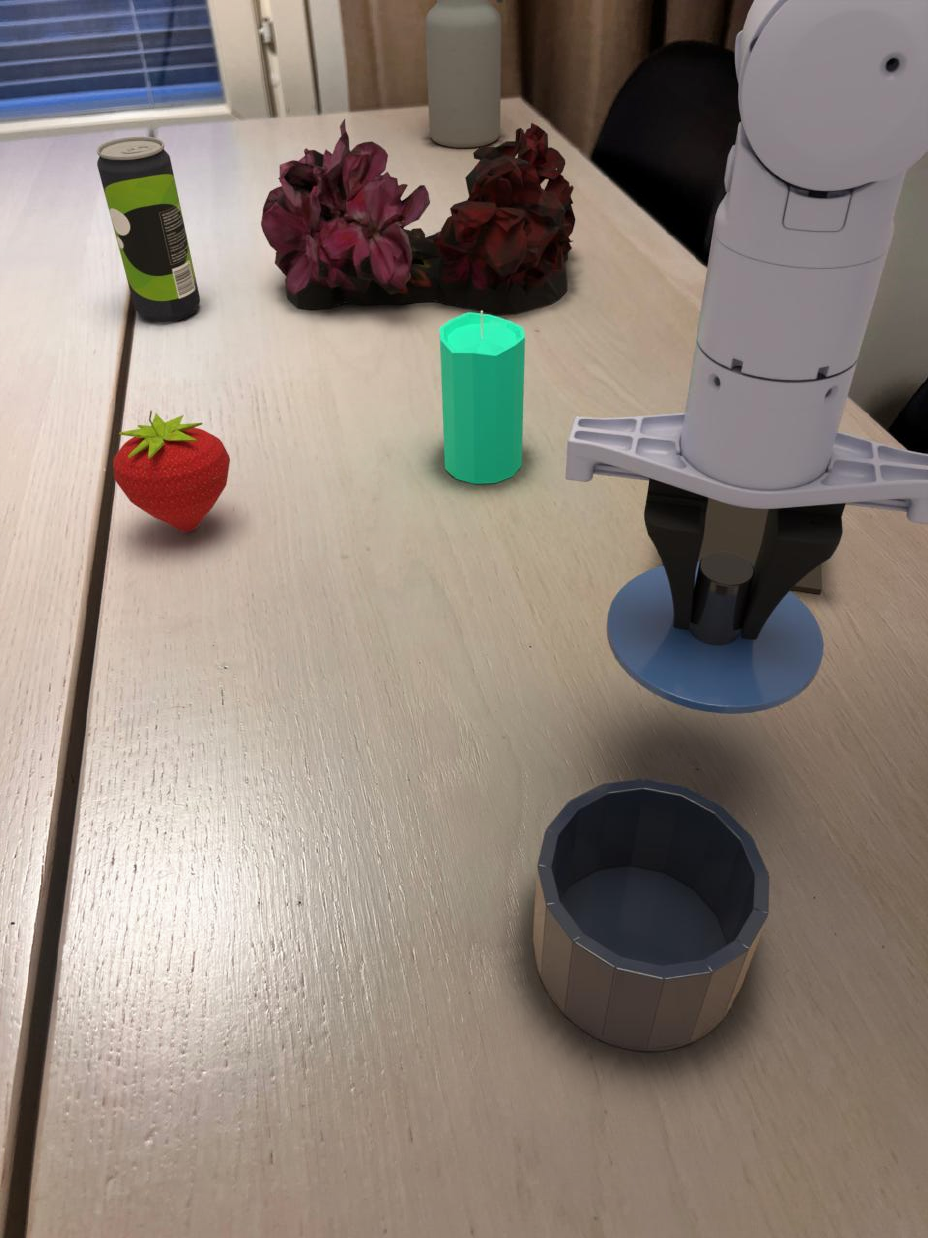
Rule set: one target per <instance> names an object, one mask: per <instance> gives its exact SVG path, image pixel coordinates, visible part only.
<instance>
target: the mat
mask: <svg viewBox="0 0 928 1238" xmlns="http://www.w3.org/2000/svg"><path fill="white" fill-rule="evenodd" d="M767 514H768V509H755V508H746V507H740V506H735V505H730V504H727V503H723V502H720V501H717V500H714V499H711V498H708V505H707V511H706V519H705V529H704V538H703V542H702V546H701V550H700V555H699V559H698V562H700V561H701V559H702V558H703V557H704V556H706V555H708V554H710V553H713V552H720V551H725V552H732V553H736V554H738V555H741V556H743V557H744V558H746V559H747V560H749V561H750V562H751V564H752V565H753V567H754V565H755V562H756V559H757V556H758V553H759V550H760V546H761V542H762V538H763V533H764V528H765V523H766V519H767ZM662 566H664V565H663V564H662ZM822 581H823V580H822V564H820V565H819V566H817V567H816V568H815V569H814V570H812V571H811V572H810V573H808V574H807V575H806V576H805V577H804V578H802V579H801V580H800V581H799V582H798V583H797V584H796V585H795V586H794V587H793V588H792V589H791V590H790V591H796V592H797V591H798V592H804V593H811V594H818V595H820V594H822V590H823V585H822V584H823V583H822Z"/></svg>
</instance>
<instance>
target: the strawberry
mask: <svg viewBox="0 0 928 1238" xmlns="http://www.w3.org/2000/svg"><path fill="white" fill-rule="evenodd" d="M152 413H153V410H150V411H149V416H148V422H149V424H150V425H146V424H138V425H137V428H135V429H131V430H130V429H129V430H124V431H120V432H118V435H119V436H125V437H131V438H130V439H128V440H127V441H126V442H124V443H123V444H122V446H121V447H120V449H119V450H117V452H116V453H115V455H114V457H113V460H112V464H113V465H112V466H113V477H114V481H115V482H116V484H117V486H118V487H119V488H120V489H121V491H122V492H123V494H124V495H125V496H126V498H127V500H128V501H129V502H130V503H132V504H133V505H134V506H136V507H137V508H138V509H140V510H142V511H143V512H145V513H146V514H148V515H150V516H151V517H153V519H157V520H158V521H160V522H163V523H164V524H165V523H166V524H168V525H169V526H171V527H173V528H174V529H175V530H177V531H180V532H184V533H185V532H186V533H187V532H192V531H194V530H196V529H198V527H199V526H200V525H201V522H202V521H203V519H204V518H205V517H206V516H207V515H208V513H210V511H211V510H212V509H213V508H214V506H215V504H216V503H217V501H218V500H219V498H220V497H221V495H222V493H223V492H224V490H225V488H226V487H227V484H228V478H229V471H230V462H231V458H230V455H229V452H228V451H227V449H226V447H225V445H224V443H223V442H222V440H221V439H220V438H219V437H217V436H216V435H214V434H212V433H210V432H208V431H206V430H204V429H203V428H199V427H200V426H202V425H203V422H190V423H189V422H188V423H181V422H182V419H183V417H184V414H182V415H180V416H177V417H174V418H172V419H170V420H167V421H165V420H163V418H161V416H159V414H158V413H157V412H155V414H154V416H153V420H152V415H153V414H152Z"/></svg>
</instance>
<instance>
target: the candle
mask: <svg viewBox="0 0 928 1238" xmlns="http://www.w3.org/2000/svg"><path fill="white" fill-rule="evenodd" d="M439 351H440V352H439V353H440V377H441V378H440V380H441V404H442V405H441V407H442V430H443V431H442V432H443V455H444V456H443V457H444V458H443V459H444V470H445V471H447V472H448V474H450V475H451V476H453V478H454V479H456V480H460V481H461V482H466V483H470V484H474V485H482V484H497V483H499V482H503V481H505V480H507V479H510V478H513V477H514V476H515V474H516V473H518V471H519V470H520V469H521V468H522V467H523V462H522V461H523V434H524V433H523V432H524V431H523V429H524V392H525V390H524V389H525V360H526V359H525V355H526V354H525V353H526V335H525V329H524V327H523V326H521V325H519V324H517V323H515V322H513V321H511V320H508V319H505V318H501V317H499V316H497V315H494V314H489V313H484V312H483V311H480V313H479V312H471V311H468V312H465V313H463V314H461V315H459V316H456V317H454V318H451V319H449V320H448V321H446V322H445V323H444V324H442V326H440V327H439Z"/></svg>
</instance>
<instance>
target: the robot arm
mask: <svg viewBox="0 0 928 1238" xmlns="http://www.w3.org/2000/svg"><path fill="white" fill-rule="evenodd" d="M734 64H735V65H734V66H735V74H736V79H737V83H738V95H737V98H738V110H739V115H740V120H741V121H740V122H739V123H738V126H737V131H736V132H737V133H736V139H735V144H733V145H732V146H731V148H730V150H729V153H728V154H727V160H726V166H725V170H724V171H725V172H724V180H723V182H724V188H725V193H726V194H725V195H724V197H723V199H722V200H721V201H720V203H719V205H718V207H717V210H716V213H715V217H714V222H713V229H712V236H711V242H710V247H709V253H708V255H709V256H708V261H707V267H706V274H705V281H704V286H703V291H702V292H703V293H702V299H701V305H700V312H699V319H698V325H697V332H696V333H697V334H696V340H695V346H694V352H693V359H692V366H691V373H690V380H689V386H688V392H687V399H686V405H685V411H684V412H677V413H663V414H649V415H637V416H636V415H634V416H618V417H590V416H580V415H577V416H575V417H574V419H573V422H572V426H571V428H570V431H569V435H568V438H567V443H566V445H567V447H566V462H565V475H564V478H565V480H567V481H574V482H582V483H586V482H588V483H589V482H591V481H592V480H593V478H594V475H598V476H607V477H615V478H622V479H623V478H624V479H631V480H632V479H633V480H640V481H648V486H647V492H646V498H645V505H644V511H643V520H644V525H645V529H646V532H647V536H648V537H649V539H650V540H651V542H652V544H653V545H654V547H655V550H656V551H657V554H658V556H659V558H660V561H661V563H662V566H663V565H664V568H665V571H666V574H667V578H668V581H669V585H670V590H671V595H672V601H673V610H674V622H673V627H674V628H677V629H684V630H689V625H690V621H691V615H692V605H693V594H694V587H695V575H696V568H697V564H698V559H699V555H700V550H701V546H702V542H703V538H704V529H705V519H706V511H707V505H708V498H711V499H714V500H717V501H720V502H723V503H727V504H730V505H735V506H740V507H746V508H755V509H768V514H767V519H766V523H765V528H764V533H763V538H762V542H761V546H760V550H759V553H758V556H757V559H756V562H755V565H754V570H755V575H754V579H753V583H752V587H751V591H750V595H749V599H748V604H747V607H746V611H745V615H744V619H743V623H742V628H741V638H744V639H751V640H756V639H757V638H758V635H759V633H760V631H761V629H762V628H763V626H764V624H765V623H766V621H767V619H768V618H769V617H770V615H771V614H772V612H773V611H774V609H775V608H776V607H777V605H778V604H779V603H780V602H781V600H782V599H783V598H784V597H785V596H786V594H787V593H788V592H789V591H792V590H791V589H792V588H793V587H794V586H795V585H796V584H797V583H798V582H799V581H800V580H801V579H802V578H804V577H805V576H806V575H807V574H808V573H810V572H811V571H812V570H814V569H815V568H816V567H817V566H819V565H820V564H821V565H823V563H825V562H827V561H829V560H830V559H831V558H832V556H834V554H835V552H836V551H837V549H838V547H839V545H840V543H841V541H842V537H843V532H844V531H843V514H844V510H845V507H846V505H847V506H855V507H862V508H871V509H878V510H886V511H887V510H888V511H895V512H896V511H897V512H905V513H906V515H905V516H906V518H907V520H908V521H910V522H912V523H915V524H924V525H928V453H922V452H917V451H912V450H907V449H904V448H901V447H900V448H899V447H897V446H892V445H888V444H886V443H882V442H879V441H874V440H871V439H867V438H864V437H861V436H857V435H854V434H850V433H846V432H843V431H840V430H839V428H840V424H841V421H842V418H843V414H844V410H845V407H846V403H847V400H848V397H849V393H850V389H851V386H852V383H853V379H854V375H855V372H856V368H857V364H858V362H859V357H860V353H861V349H862V345H863V342H864V339H865V335H866V331H867V328H868V325H869V322H870V318H871V314H872V310H873V307H874V304H875V300H876V298H877V297H876V296H877V293H878V289H879V286H880V282H881V278H882V275H883V272H884V268H885V265H886V260H887V257H888V254H889V251H890V247H891V245H892V241H893V237H894V233H895V221H894V217H895V214H896V209H897V206H898V203H899V199H900V196H901V191H902V188H903V186H904V182H905V177H906V174H907V172H908V170H909V169H911V167H913V166H914V165H916V163H917V162H919V161H920V159H921V158H923V156H924V155H926V154H927V152H928V0H753V2H752V4H751V6H750V8H749V10H748V12H747V15H746V19H745V21H744V24H743V28H742V30H740V31H739V32H738V33H737V35H736V36H735V43H734Z"/></svg>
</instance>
